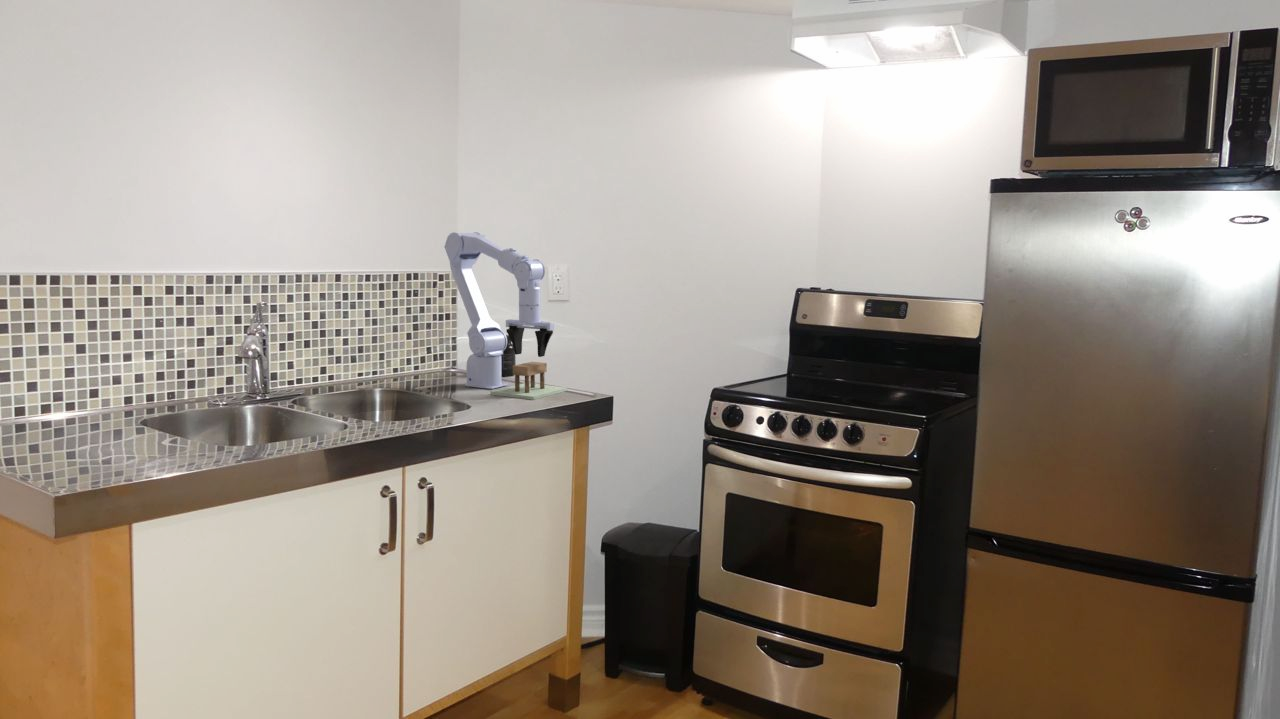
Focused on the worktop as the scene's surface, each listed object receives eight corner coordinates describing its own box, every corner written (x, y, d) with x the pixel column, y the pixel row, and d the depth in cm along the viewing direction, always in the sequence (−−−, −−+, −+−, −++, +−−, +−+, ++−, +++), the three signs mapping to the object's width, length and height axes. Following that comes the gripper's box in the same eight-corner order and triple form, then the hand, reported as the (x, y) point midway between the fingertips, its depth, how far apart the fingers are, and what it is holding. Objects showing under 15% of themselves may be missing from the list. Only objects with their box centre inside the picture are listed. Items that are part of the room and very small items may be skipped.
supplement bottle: (517, 373, 294) (517, 334, 293) (512, 377, 288) (512, 337, 286) (495, 372, 295) (495, 333, 293) (490, 376, 288) (489, 336, 287)
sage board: (490, 394, 260) (490, 391, 260) (525, 385, 274) (525, 382, 274) (533, 399, 253) (533, 396, 253) (566, 390, 267) (566, 387, 267)
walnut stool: (532, 386, 268) (532, 361, 267) (546, 388, 266) (546, 363, 265) (512, 391, 260) (512, 365, 259) (527, 393, 258) (527, 367, 257)
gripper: (498, 304, 259) (499, 354, 261) (543, 307, 252) (543, 359, 255) (514, 302, 265) (514, 351, 268) (558, 305, 259) (558, 356, 261)
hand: (529, 355), depth 261 cm, fingers open, 7 cm apart
